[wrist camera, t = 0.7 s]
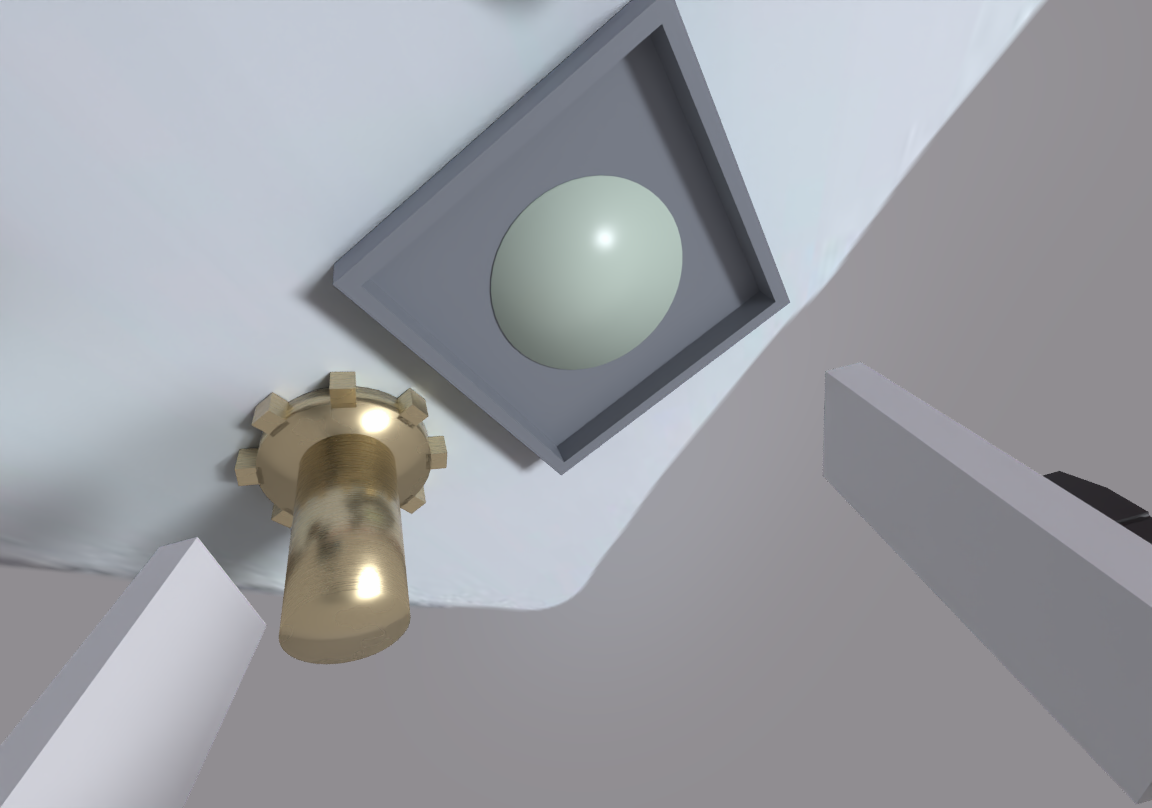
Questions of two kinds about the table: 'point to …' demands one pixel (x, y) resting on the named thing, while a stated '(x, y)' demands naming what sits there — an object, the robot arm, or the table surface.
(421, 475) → the toothed flange peg
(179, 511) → the table surface
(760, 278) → the carrier tray
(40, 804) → the robot arm
